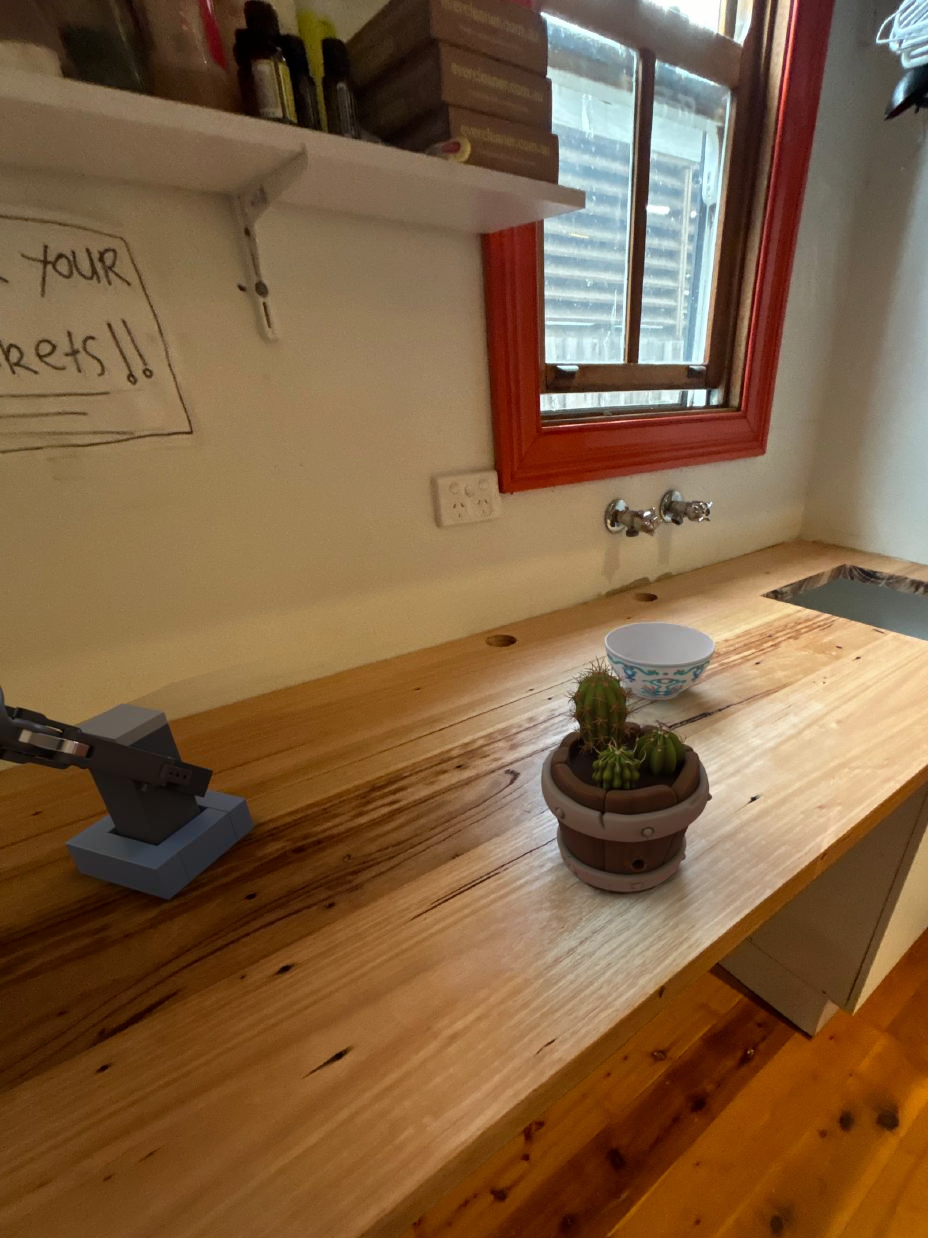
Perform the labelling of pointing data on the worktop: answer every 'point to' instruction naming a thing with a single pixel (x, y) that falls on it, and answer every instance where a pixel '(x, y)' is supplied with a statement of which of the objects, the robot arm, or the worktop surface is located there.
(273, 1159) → the worktop surface
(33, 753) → the robot arm
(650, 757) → the flowerpot
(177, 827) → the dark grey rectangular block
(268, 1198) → the worktop surface
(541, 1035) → the worktop surface
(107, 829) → the block
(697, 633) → the chinaware
